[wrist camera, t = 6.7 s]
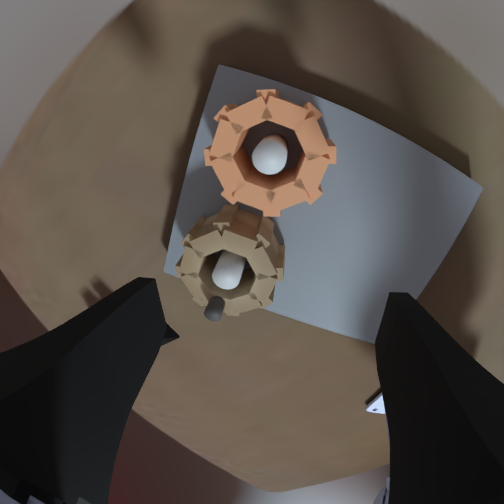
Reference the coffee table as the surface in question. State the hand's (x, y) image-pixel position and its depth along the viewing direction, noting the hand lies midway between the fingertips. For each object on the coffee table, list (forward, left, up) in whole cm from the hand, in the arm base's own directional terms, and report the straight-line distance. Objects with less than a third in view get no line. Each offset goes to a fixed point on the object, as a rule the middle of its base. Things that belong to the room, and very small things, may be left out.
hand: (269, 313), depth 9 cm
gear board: (-2, 0, -10) cm, 10 cm away
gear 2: (+2, +3, -8) cm, 9 cm away
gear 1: (+2, -3, -8) cm, 9 cm away
